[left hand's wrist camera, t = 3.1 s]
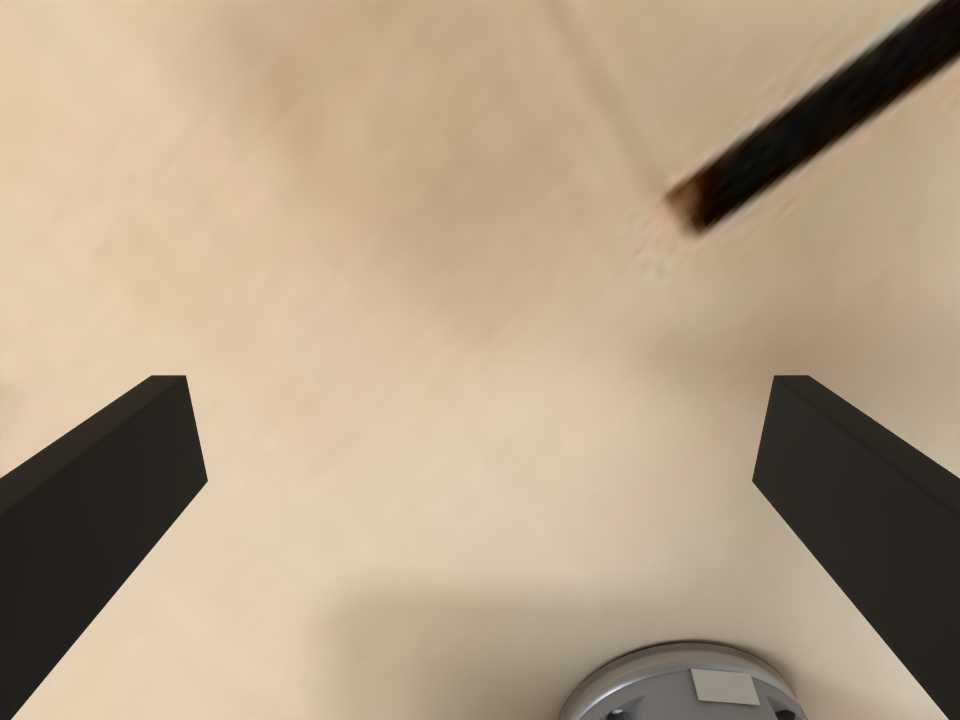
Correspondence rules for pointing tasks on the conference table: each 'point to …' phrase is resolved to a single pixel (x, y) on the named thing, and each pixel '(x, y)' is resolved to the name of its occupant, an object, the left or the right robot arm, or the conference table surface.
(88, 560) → the left robot arm
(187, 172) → the conference table surface
